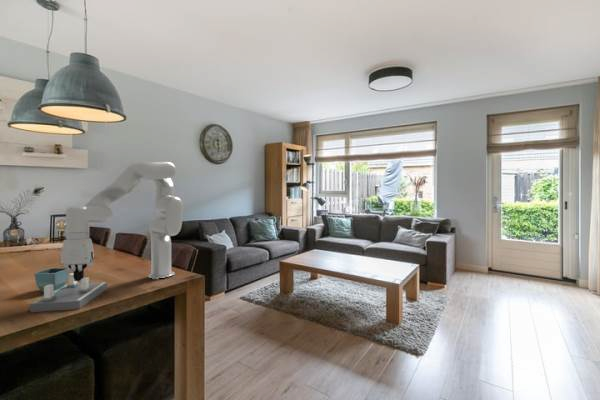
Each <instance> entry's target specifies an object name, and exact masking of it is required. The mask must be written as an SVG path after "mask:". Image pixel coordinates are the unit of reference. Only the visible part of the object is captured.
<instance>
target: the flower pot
mask: <svg viewBox="0 0 600 400" xmlns="http://www.w3.org/2000/svg"><path fill="white" fill-rule="evenodd" d="M69 274H70V268H69V267H63V268H62V267H58V268H57V267H51V268H46V269H44V270H41V271H36V272H35V273H34V278H35V283H36V286H37V288H38V289H39V290H40V291H41V292H42V293H44V286H47V285H53V284H54V291H55V290H57V289H59V288H61V287H63V286H65V285H67V281H68V280H69Z"/></svg>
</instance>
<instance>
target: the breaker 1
mask: <svg viewBox="0 0 600 400" xmlns="http://www.w3.org/2000/svg"><path fill="white" fill-rule="evenodd" d="M43 297H44V298H42V297H41V298H42V299H41V301H50V300H52V299H54V298H56V295H54V284H53V285H47V286H44V292H43Z"/></svg>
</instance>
